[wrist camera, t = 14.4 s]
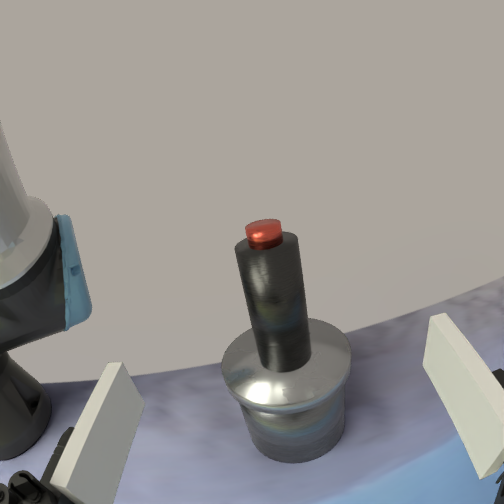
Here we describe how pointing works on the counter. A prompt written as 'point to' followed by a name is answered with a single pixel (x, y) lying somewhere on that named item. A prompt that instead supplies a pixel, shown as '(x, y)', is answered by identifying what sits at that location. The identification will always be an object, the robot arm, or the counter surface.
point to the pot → (298, 431)
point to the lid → (281, 331)
